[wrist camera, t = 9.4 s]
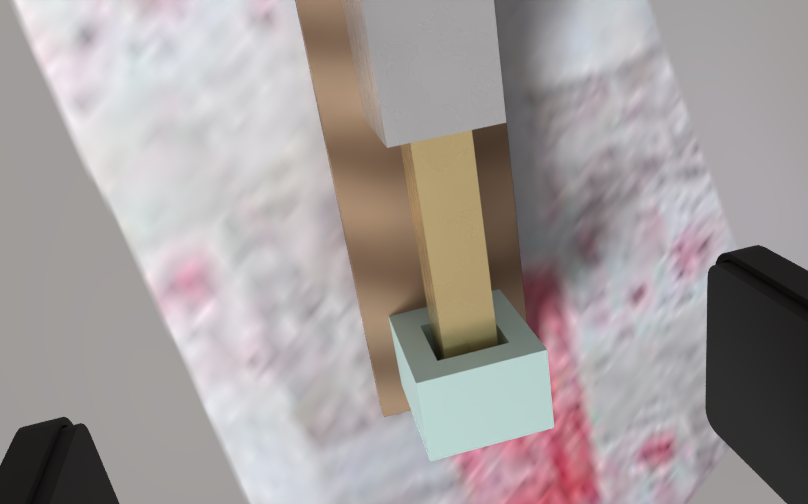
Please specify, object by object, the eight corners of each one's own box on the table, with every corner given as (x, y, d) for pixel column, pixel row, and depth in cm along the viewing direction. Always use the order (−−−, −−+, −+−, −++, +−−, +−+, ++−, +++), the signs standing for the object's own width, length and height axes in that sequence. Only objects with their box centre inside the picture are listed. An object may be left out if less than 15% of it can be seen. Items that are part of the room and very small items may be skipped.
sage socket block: (388, 316, 43) (416, 383, 36) (499, 289, 43) (547, 349, 37) (401, 385, 45) (430, 461, 38) (507, 358, 45) (554, 427, 39)
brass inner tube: (376, 9, 34) (388, 13, 31) (439, -3, 34) (457, 0, 31) (435, 364, 42) (449, 393, 39) (486, 351, 42) (503, 379, 39)
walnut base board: (254, -197, 33) (254, -204, 31) (460, -227, 34) (469, -235, 33) (380, 404, 47) (384, 417, 45) (524, 366, 48) (532, 378, 46)
